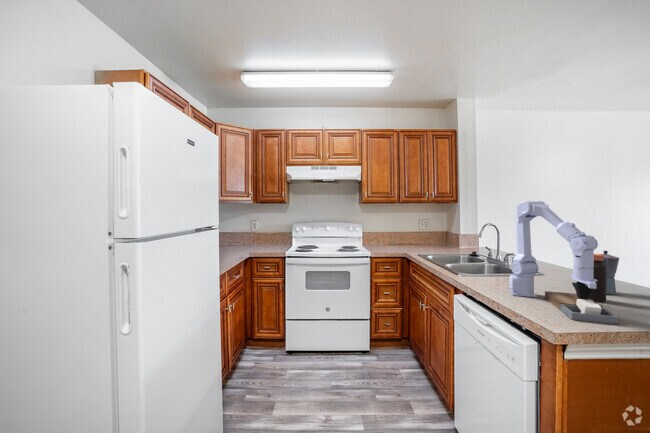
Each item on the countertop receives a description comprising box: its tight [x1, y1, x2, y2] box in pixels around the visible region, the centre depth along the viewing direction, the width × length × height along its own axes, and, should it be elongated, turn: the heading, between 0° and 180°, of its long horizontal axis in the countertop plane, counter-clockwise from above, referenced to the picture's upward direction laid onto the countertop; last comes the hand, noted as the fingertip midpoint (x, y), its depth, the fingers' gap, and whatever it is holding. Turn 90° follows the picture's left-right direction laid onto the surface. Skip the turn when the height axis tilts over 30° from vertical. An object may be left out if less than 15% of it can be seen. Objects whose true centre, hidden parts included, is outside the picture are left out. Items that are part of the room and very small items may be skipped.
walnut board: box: [544, 290, 604, 311], centre depth 117 cm, size 13×17×3 cm
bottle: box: [589, 253, 607, 303], centre depth 123 cm, size 7×7×20 cm
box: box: [560, 304, 620, 326], centre depth 104 cm, size 13×10×3 cm
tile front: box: [581, 303, 602, 315], centre depth 103 cm, size 4×4×2 cm
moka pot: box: [600, 250, 620, 296], centre depth 133 cm, size 10×15×20 cm, turn 107°
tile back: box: [576, 299, 595, 310], centre depth 106 cm, size 4×4×2 cm
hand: (583, 302), depth 108 cm, fingers closed
